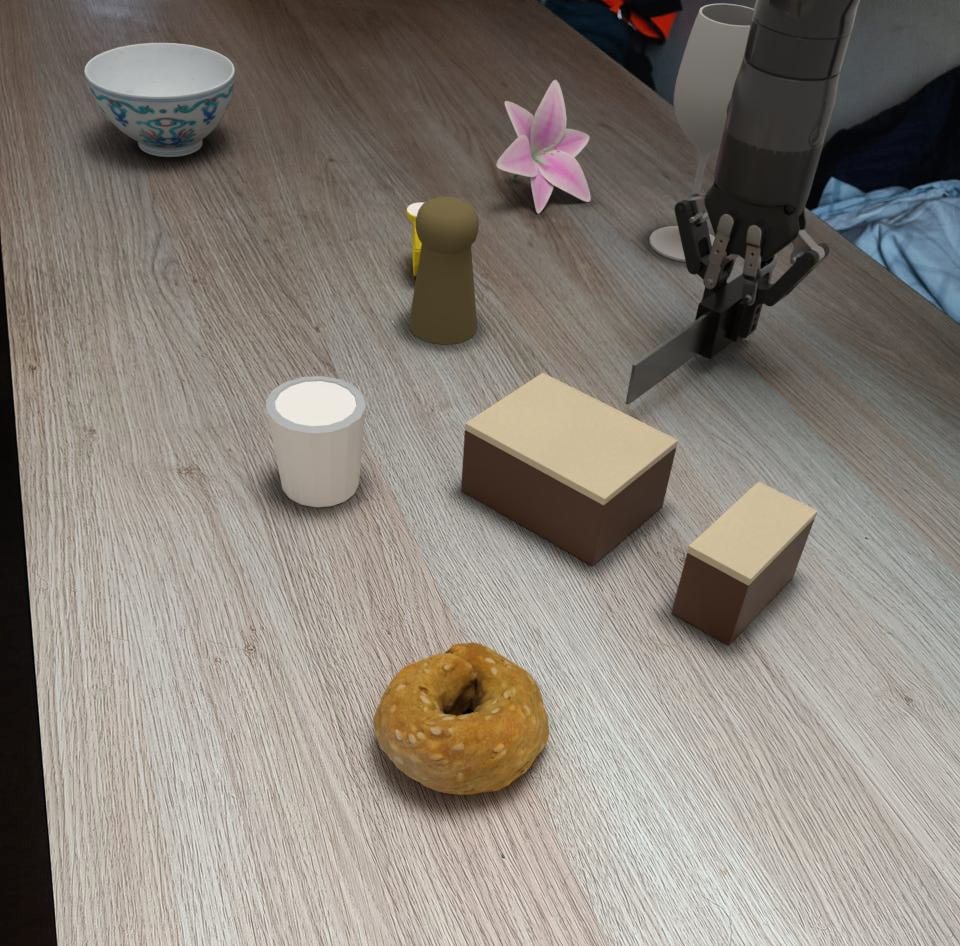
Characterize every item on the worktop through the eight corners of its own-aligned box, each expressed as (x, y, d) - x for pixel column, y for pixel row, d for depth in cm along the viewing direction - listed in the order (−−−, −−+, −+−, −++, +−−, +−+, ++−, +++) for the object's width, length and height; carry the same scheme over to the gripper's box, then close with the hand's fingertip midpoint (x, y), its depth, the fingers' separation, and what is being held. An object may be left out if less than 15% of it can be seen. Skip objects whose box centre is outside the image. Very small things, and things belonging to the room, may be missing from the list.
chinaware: (215, 182, 114) (206, 104, 108) (75, 163, 114) (59, 85, 109) (258, 126, 124) (252, 52, 118) (130, 109, 125) (118, 35, 119)
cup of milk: (253, 479, 81) (244, 398, 76) (327, 443, 84) (323, 363, 79) (312, 525, 78) (307, 444, 72) (386, 486, 81) (386, 406, 76)
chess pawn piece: (400, 336, 95) (401, 213, 87) (419, 302, 99) (422, 182, 91) (467, 349, 95) (475, 226, 87) (484, 314, 99) (492, 194, 91)
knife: (735, 315, 98) (746, 269, 95) (756, 325, 97) (769, 279, 94) (614, 402, 88) (623, 354, 84) (637, 414, 87) (647, 365, 84)
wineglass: (683, 220, 114) (729, -5, 99) (738, 250, 110) (795, 21, 95) (631, 239, 111) (671, 8, 95) (687, 270, 107) (737, 35, 92)
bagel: (585, 730, 66) (596, 677, 63) (462, 841, 60) (466, 789, 57) (463, 644, 70) (467, 590, 67) (337, 740, 64) (334, 687, 61)
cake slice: (737, 547, 79) (758, 480, 74) (793, 576, 77) (818, 510, 73) (670, 612, 74) (688, 545, 69) (728, 646, 72) (750, 579, 68)
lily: (472, 221, 113) (516, 154, 105) (462, 132, 117) (502, 61, 109) (572, 247, 119) (621, 185, 111) (559, 161, 123) (604, 96, 115)
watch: (404, 254, 106) (405, 193, 101) (433, 254, 106) (435, 193, 102) (406, 285, 101) (407, 223, 97) (436, 286, 102) (438, 224, 97)
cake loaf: (534, 438, 86) (542, 372, 82) (662, 506, 81) (678, 439, 77) (460, 490, 81) (464, 422, 77) (592, 566, 76) (605, 498, 72)
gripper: (882, 141, 82) (816, 346, 95) (722, 87, 88) (680, 287, 100) (836, 171, 78) (773, 381, 90) (671, 111, 84) (634, 317, 96)
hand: (724, 331), depth 95 cm, fingers closed on knife, 2 cm apart
